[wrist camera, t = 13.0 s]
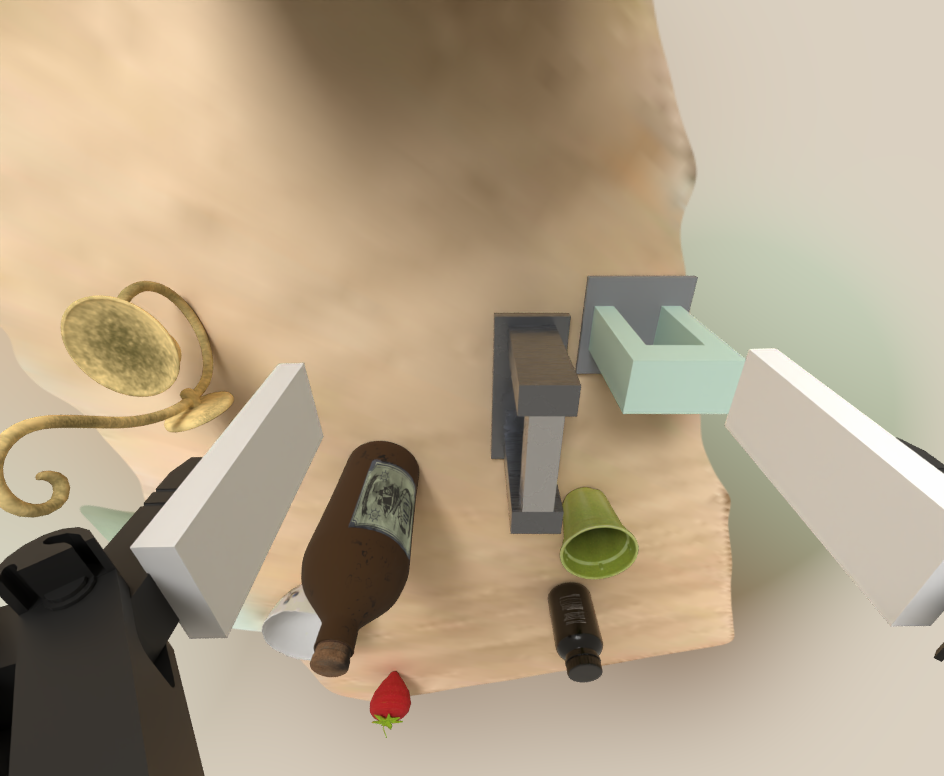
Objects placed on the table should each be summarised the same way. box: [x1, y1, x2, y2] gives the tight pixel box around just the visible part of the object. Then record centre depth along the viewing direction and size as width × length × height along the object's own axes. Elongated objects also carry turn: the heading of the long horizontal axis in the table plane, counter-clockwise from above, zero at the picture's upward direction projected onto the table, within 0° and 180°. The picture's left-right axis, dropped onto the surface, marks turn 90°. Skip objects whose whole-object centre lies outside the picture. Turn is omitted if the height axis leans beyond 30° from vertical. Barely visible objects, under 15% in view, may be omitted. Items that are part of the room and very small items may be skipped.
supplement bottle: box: [548, 583, 603, 682], centre depth 65 cm, size 7×7×12 cm
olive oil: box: [301, 441, 419, 677], centre depth 47 cm, size 11×11×25 cm
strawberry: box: [370, 671, 411, 738], centre depth 78 cm, size 6×8×10 cm
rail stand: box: [491, 313, 581, 534], centre depth 46 cm, size 19×8×14 cm, turn 0°
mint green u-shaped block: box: [589, 306, 746, 414], centre depth 42 cm, size 5×9×13 cm, turn 90°
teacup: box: [262, 584, 322, 660], centre depth 67 cm, size 15×12×8 cm
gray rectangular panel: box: [576, 276, 698, 374], centre depth 47 cm, size 11×11×1 cm
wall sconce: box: [0, 281, 234, 517], centre depth 37 cm, size 14×10×25 cm
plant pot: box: [560, 487, 639, 579], centre depth 57 cm, size 9×9×9 cm
